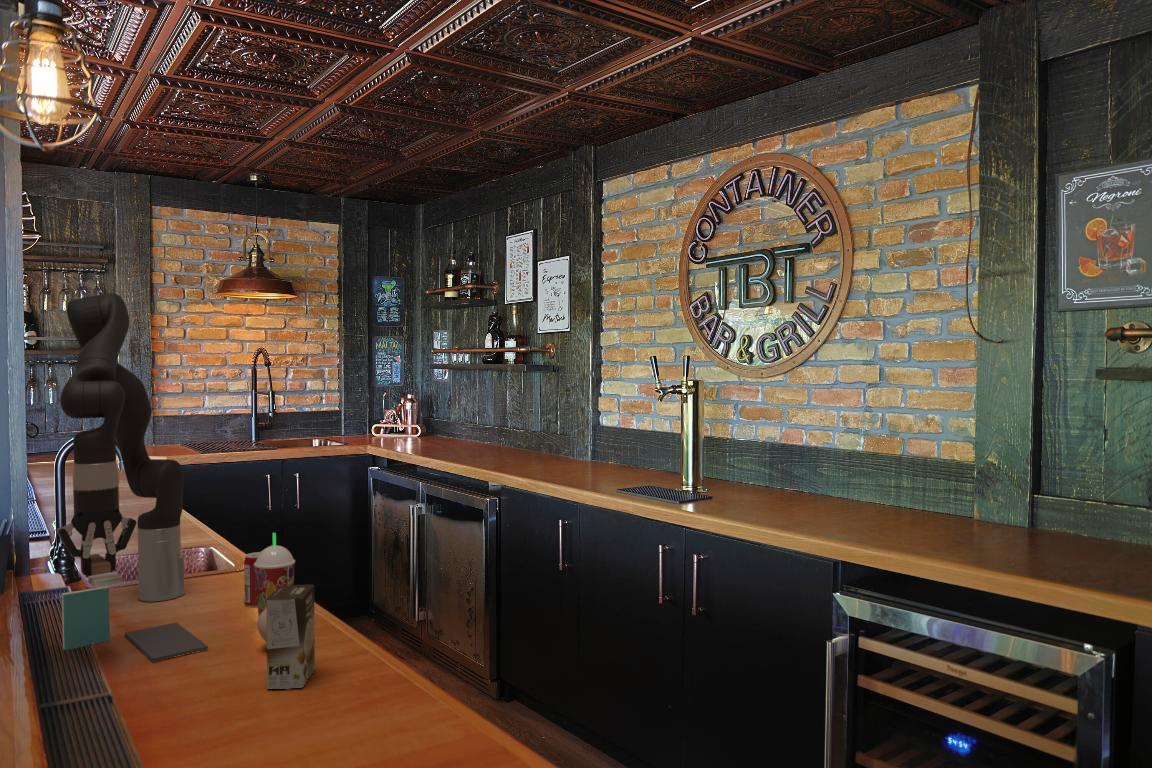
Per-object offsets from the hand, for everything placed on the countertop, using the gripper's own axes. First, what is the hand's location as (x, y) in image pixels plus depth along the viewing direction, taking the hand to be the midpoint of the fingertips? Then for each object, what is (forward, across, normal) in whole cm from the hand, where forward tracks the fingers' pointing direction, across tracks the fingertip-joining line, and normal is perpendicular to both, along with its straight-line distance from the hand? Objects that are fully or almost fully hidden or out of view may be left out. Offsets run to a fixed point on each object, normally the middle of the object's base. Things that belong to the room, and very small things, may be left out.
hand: (98, 574), depth 160 cm
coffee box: (+16, -22, +36) cm, 45 cm away
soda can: (+17, -36, -14) cm, 42 cm away
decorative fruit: (+17, -28, +19) cm, 37 cm away
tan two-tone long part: (+1, 0, 0) cm, 1 cm away
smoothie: (+17, -33, +4) cm, 37 cm away
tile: (+16, 0, -10) cm, 19 cm away
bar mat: (+16, -12, 0) cm, 20 cm away
